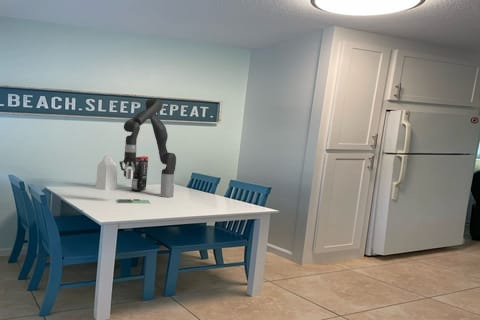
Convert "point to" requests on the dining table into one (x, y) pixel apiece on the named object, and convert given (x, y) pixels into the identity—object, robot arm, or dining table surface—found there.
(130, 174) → the plug
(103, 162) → the milk
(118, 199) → the board
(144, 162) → the graphics card box
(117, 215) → the dining table surface
